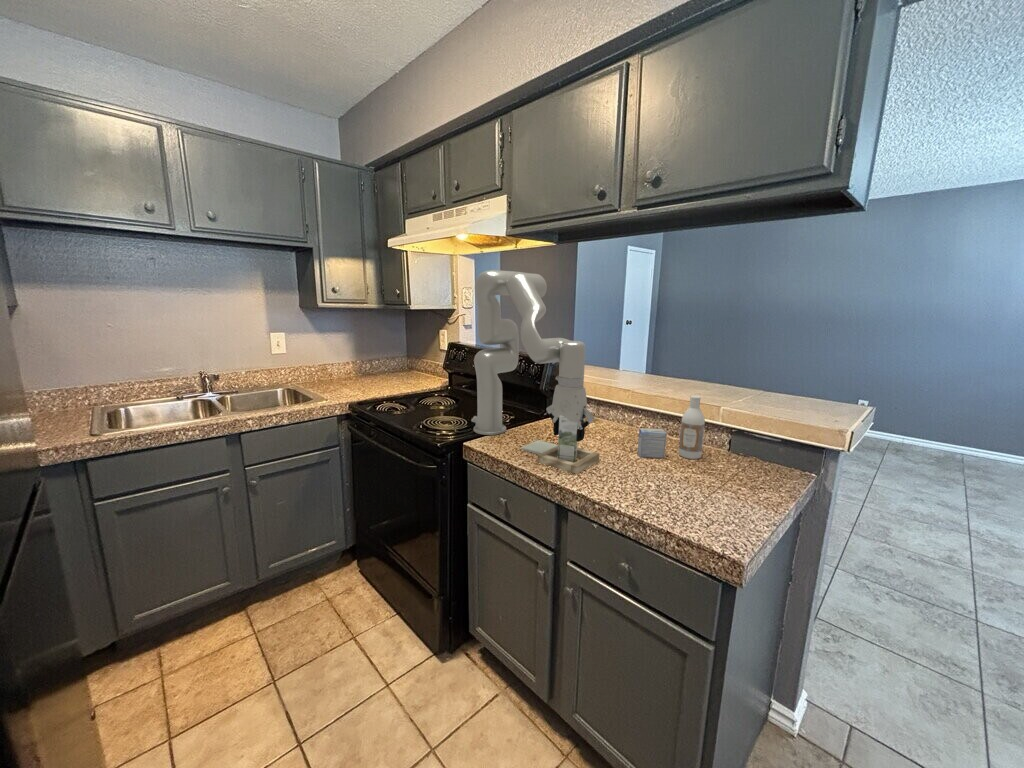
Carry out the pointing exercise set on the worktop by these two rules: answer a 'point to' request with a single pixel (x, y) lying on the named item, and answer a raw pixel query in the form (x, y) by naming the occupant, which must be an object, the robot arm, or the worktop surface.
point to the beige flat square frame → (585, 462)
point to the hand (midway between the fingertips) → (568, 437)
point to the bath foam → (692, 430)
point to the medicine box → (652, 443)
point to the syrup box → (567, 439)
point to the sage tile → (538, 447)
